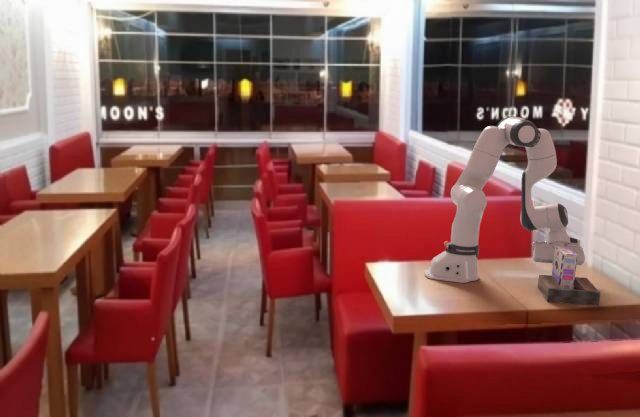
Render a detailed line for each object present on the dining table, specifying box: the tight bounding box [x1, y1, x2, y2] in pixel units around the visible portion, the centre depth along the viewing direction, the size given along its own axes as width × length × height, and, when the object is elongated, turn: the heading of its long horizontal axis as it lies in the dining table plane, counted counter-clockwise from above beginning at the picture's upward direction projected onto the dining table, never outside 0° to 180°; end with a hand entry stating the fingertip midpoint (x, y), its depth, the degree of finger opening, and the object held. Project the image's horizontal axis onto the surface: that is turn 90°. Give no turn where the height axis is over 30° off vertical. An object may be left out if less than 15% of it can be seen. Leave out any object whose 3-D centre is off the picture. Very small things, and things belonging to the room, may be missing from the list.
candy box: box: [551, 246, 578, 289], centre depth 268 cm, size 14×6×16 cm, turn 173°
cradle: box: [537, 274, 601, 306], centre depth 263 cm, size 19×19×5 cm
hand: (560, 271), depth 276 cm, fingers closed, pressing on candy box
